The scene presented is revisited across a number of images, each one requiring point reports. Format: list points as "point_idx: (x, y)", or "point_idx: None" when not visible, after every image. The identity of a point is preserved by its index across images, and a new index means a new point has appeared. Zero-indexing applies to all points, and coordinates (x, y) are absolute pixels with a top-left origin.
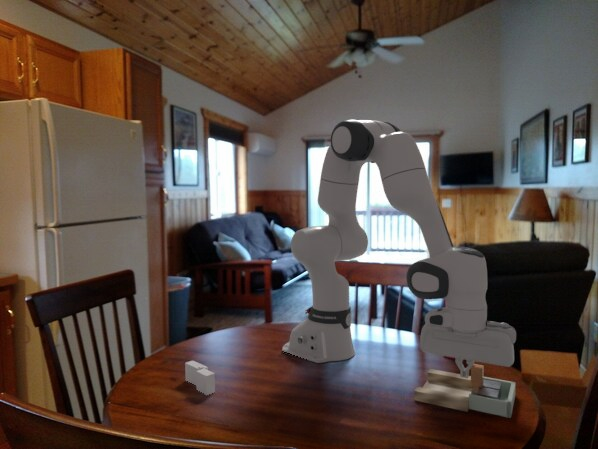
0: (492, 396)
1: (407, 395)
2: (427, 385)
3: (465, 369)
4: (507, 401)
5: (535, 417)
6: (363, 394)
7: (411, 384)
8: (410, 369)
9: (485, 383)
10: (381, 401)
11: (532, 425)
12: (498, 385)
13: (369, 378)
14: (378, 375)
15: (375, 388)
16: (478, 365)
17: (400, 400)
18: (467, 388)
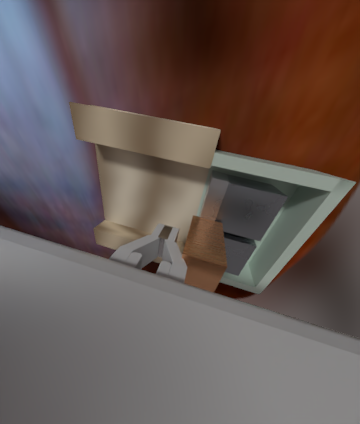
0: (229, 272)
1: (92, 206)
2: (105, 174)
3: (163, 251)
4: (255, 288)
5: (310, 245)
6: (45, 215)
7: (77, 155)
8: (22, 28)
9: (229, 213)
10: (74, 230)
11: (286, 267)
12: (267, 219)
13: (8, 151)
14: (6, 126)
15: (43, 192)
16: (204, 267)
17: (92, 223)
18: (188, 165)
